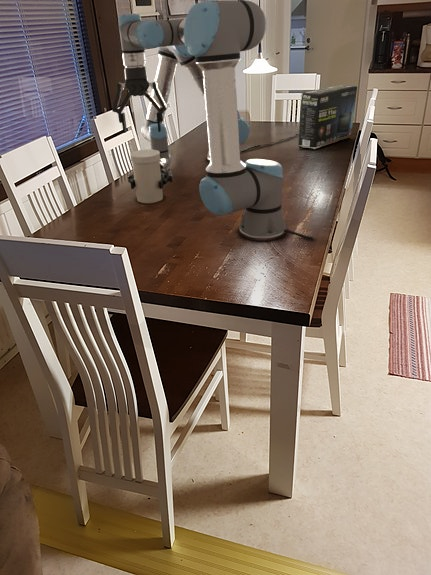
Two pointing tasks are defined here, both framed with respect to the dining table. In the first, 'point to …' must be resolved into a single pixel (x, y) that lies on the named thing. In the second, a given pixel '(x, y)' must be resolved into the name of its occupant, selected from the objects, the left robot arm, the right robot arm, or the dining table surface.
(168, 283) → the dining table surface
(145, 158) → the lid
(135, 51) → the right robot arm
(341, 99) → the router box
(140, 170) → the jar
